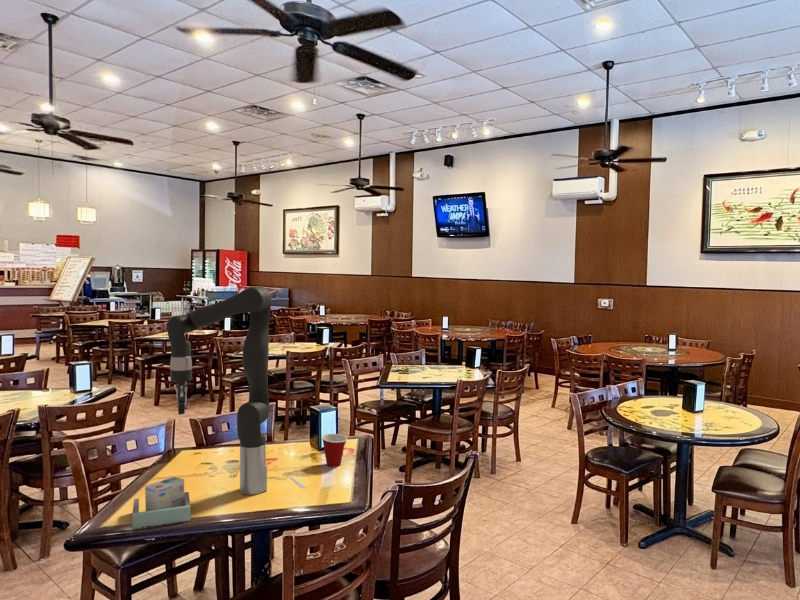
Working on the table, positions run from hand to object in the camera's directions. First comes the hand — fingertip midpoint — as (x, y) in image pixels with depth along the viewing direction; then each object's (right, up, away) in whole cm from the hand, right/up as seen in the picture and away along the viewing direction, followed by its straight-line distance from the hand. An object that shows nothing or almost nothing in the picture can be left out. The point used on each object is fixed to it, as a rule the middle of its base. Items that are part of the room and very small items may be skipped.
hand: (181, 413), depth 210 cm
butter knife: (+39, -28, +10) cm, 49 cm away
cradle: (+4, -28, -26) cm, 39 cm away
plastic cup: (+55, -27, +25) cm, 66 cm away
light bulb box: (+5, -28, -25) cm, 38 cm away
